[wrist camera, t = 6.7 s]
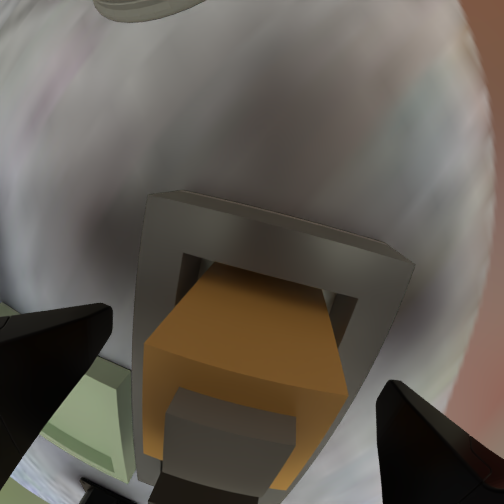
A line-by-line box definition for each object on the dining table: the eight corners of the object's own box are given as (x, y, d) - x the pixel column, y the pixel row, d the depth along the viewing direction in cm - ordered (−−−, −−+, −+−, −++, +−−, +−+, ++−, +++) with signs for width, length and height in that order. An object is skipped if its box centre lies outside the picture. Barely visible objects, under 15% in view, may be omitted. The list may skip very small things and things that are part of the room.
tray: (136, 468, 16) (128, 484, 15) (29, 408, 17) (19, 419, 15) (131, 370, 13) (116, 389, 12) (2, 301, 14) (-15, 310, 12)
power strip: (273, 479, 15) (269, 515, 12) (154, 447, 15) (137, 480, 12) (385, 242, 10) (415, 264, 8) (182, 189, 11) (147, 194, 8)
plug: (290, 371, 12) (284, 512, 5) (199, 347, 12) (133, 473, 5) (321, 287, 11) (354, 423, 4) (216, 259, 11) (124, 365, 4)
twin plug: (249, 465, 14) (231, 561, 7) (183, 447, 14) (146, 538, 7) (267, 426, 13) (251, 545, 6) (189, 406, 13) (141, 516, 6)
